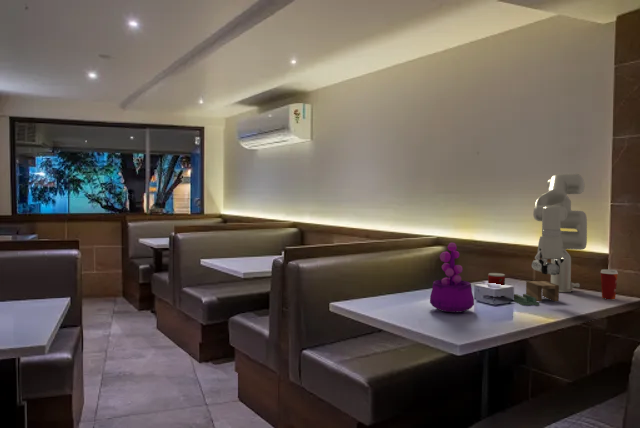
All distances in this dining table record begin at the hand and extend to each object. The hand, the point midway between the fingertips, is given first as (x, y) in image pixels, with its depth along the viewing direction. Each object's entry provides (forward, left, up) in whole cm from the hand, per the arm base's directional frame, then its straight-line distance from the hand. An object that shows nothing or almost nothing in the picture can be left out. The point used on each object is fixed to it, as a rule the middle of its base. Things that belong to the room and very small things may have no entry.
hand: (550, 273), depth 226 cm
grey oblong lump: (0, -5, 0) cm, 5 cm away
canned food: (+14, -25, -15) cm, 33 cm away
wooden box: (-5, -16, -15) cm, 23 cm away
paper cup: (-38, -15, -15) cm, 44 cm away
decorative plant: (+47, +6, -15) cm, 50 cm away
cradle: (+7, -9, -15) cm, 19 cm away
